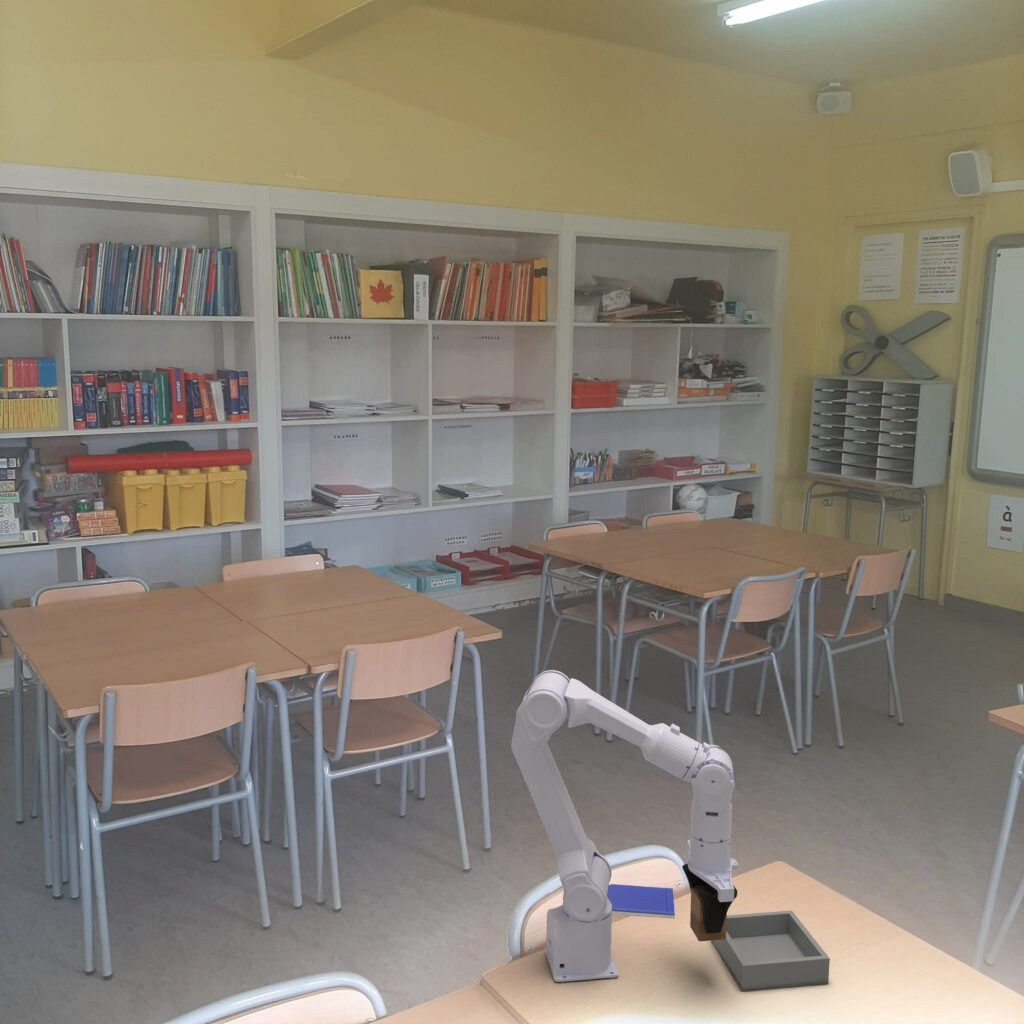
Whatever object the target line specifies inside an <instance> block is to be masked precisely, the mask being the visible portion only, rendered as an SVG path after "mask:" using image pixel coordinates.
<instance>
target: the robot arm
mask: <svg viewBox="0 0 1024 1024" xmlns="http://www.w3.org/2000/svg"><path fill="white" fill-rule="evenodd" d="M515 714H516V717H515V722H514V726H513V732H512V736H511V737H512V738H511V742H510V746H511V752H512V754H513V755H514V758H515V760H516V764H517V765H518V767H519V770H520V772H521V775H522V777H523V780H524V782H525V784H526V787H527V789H528V791H529V794H530V796H531V798H532V801H533V803H534V805H535V808H536V810H537V813H538V815H539V817H540V820H541V822H542V825H543V827H544V829H545V832H546V834H547V836H548V839H549V841H550V843H551V846H552V847H553V850H554V853H555V855H556V858H557V865H558V866H557V867H558V874H559V875H558V877H559V880H560V883H561V885H562V889H563V894H562V904H561V905H559V906H557V907H553V908H549V909H547V912H546V913H547V914H546V935H545V936H546V942H545V943H546V945H545V946H546V949H545V955H546V959H547V962H548V965H549V967H550V971H551V974H552V976H553V981H554V982H557V983H564V982H572V981H573V982H575V981H585V980H586V981H587V980H588V981H589V980H595V979H597V980H598V979H608V978H609V979H611V978H617V977H619V971H618V968H617V966H616V964H615V962H614V960H613V957H612V919H613V918H612V915H613V914H612V904H611V902H610V901H609V899H608V897H607V893H608V886H609V884H610V882H611V878H612V867H611V865H610V863H609V861H608V859H607V858H605V857H604V856H603V855H602V854H601V853H600V852H599V850H598V849H597V847H596V845H595V842H594V841H592V840H591V839H589V838H588V836H587V835H586V833H585V830H584V827H583V825H582V822H581V820H580V817H579V815H578V813H577V810H576V808H575V806H574V804H573V802H572V798H571V796H570V794H569V791H568V789H567V787H566V785H565V784H566V783H565V782H564V779H563V777H562V775H561V772H560V770H559V768H558V766H557V763H556V761H555V758H554V755H553V754H552V752H551V748H550V746H549V744H548V742H549V740H550V738H551V735H552V734H553V733H554V732H556V731H557V730H558V729H559V728H560V727H561V726H562V725H563V724H564V722H565V720H568V723H567V728H569V729H571V728H574V727H577V726H583V725H586V724H592V725H594V726H596V727H598V728H600V729H602V730H604V731H606V732H607V733H611V734H612V735H614V736H616V737H618V738H621V739H622V740H625V741H627V742H629V743H631V744H632V745H635V746H638V747H639V748H640V750H641V753H642V756H643V758H644V760H645V761H647V762H649V763H651V764H653V765H654V766H656V767H658V768H659V769H662V770H663V771H665V772H667V773H669V774H671V775H673V776H674V777H677V778H678V779H680V780H681V781H684V782H688V783H691V788H692V790H693V796H692V797H693V798H692V799H691V801H690V829H689V830H690V831H689V839H687V843H686V845H687V847H686V853H687V854H688V856H687V857H688V858H687V863H685V864H683V865H682V866H681V868H682V871H683V872H684V875H685V877H686V880H687V882H688V883H687V884H688V887H689V889H690V891H691V888H695V889H696V891H697V893H698V895H699V898H700V901H701V905H702V910H703V920H704V927H705V930H706V932H707V933H720V932H721V930H722V927H723V924H724V920H725V917H726V914H727V913H728V911H729V909H730V907H731V905H732V903H733V902H734V901H735V899H736V898H737V897H738V890H737V888H736V886H735V885H733V882H732V881H733V879H732V878H733V876H732V875H733V870H738V868H739V862H738V861H737V860H736V859H735V858H733V857H731V848H732V825H733V824H732V823H733V821H732V819H733V804H732V798H733V796H732V795H733V791H735V788H736V782H735V778H734V766H733V761H732V759H731V757H730V756H729V754H728V753H727V752H726V750H724V749H722V748H721V746H719V745H716V744H708V743H707V742H705V741H703V743H701V742H699V741H697V740H695V739H693V738H691V737H690V736H688V735H686V734H685V733H682V732H681V731H680V730H681V728H680V726H678V725H676V724H674V723H671V724H670V726H669V725H667V724H666V723H664V722H660V723H658V724H657V723H656V724H652V725H651V724H648V723H646V722H645V721H644V720H642V719H640V718H638V717H637V716H635V715H634V714H632V713H630V712H628V711H627V710H626V709H624V708H622V707H621V706H618V705H617V704H616V703H614V702H612V701H610V700H608V699H607V698H605V697H604V696H602V695H600V694H599V693H598V692H596V691H594V690H592V689H591V688H590V687H588V686H587V685H586V684H584V682H582V681H580V680H578V679H576V678H572V677H571V678H569V676H567V675H566V674H565V673H563V672H562V671H560V670H559V671H558V670H554V669H549V670H544V671H542V672H541V673H539V674H537V676H535V678H534V679H533V681H532V683H531V684H530V685H529V687H528V689H527V690H526V692H525V694H524V697H523V700H522V701H521V704H520V705H519V706H518V709H517V710H516V713H515ZM727 915H728V914H727Z"/></svg>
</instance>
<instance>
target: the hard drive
mask: <svg viewBox="0 0 1024 1024" xmlns="http://www.w3.org/2000/svg"><path fill="white" fill-rule="evenodd" d="M610 884H611V885H609V886H608V893H607V897H608V899H609V901H610V902H611V904H612V915H618V916H630V917H631V916H632V917H647V918H648V917H649V918H659V919H660V918H663V919H675V916H676V914H675V902H674V901H675V900H674V899H675V898H674V889H673V888H672V887H657V886H643V885H632V884H629V885H628V884H619V883H618V884H616V883H610Z"/></svg>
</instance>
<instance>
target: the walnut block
mask: <svg viewBox="0 0 1024 1024" xmlns="http://www.w3.org/2000/svg"><path fill="white" fill-rule="evenodd" d="M727 915H728V914H726V917H725V920H724V924H723V927H722V930H721V932H720V933H707V932H706V930H705V927H704V920H703V910H702V905H701V901H700V898H699V895H698V893H697V891H696V889H695V888H691V890H690V919H689V926H690V929H691V930H692V932H693V934H694V936H695V937H696V938H697V941H698V942H700V943H701V942H710V941H712V940H724V939H726V923H727Z"/></svg>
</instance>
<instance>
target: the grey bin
mask: <svg viewBox="0 0 1024 1024" xmlns="http://www.w3.org/2000/svg"><path fill="white" fill-rule="evenodd" d="M711 943H712V945H713V947H714V948H715V950H716V952H717V953H718V955H719V957H720V959H721V960H722V961H723V963H724V964H725V966H726V967H727V969H728V971H729V973H730V975H731V976H732V978H733V980H734V981H735V983H736V984H737V986H738V987H739V989H740V990H741V992H745V993H746V992H755V991H765V990H776V989H790V988H798V987H801V988H802V987H811V986H820V985H821V986H822V985H823V986H824V985H829V980H830V979H829V977H830V962H831V961H830V960H831V959H830V957H829V955H828V954H827V953H826V952H825V951H824V949H823V948H822V946H821V945H820V944H819V943H818V942H817V940H816V938H814V937H813V935H812V934H811V933H810V931H809V930H808V928H807V927H806V926H805V925H804V924H803V922H802V921H801V920H800V919H799V917H798V916H797V915H796V913H795V912H794V911H793V910H781V911H780V910H779V911H767V912H756V913H752V912H751V913H742V914H727V923H726V939H724V940H712V941H711Z"/></svg>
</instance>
